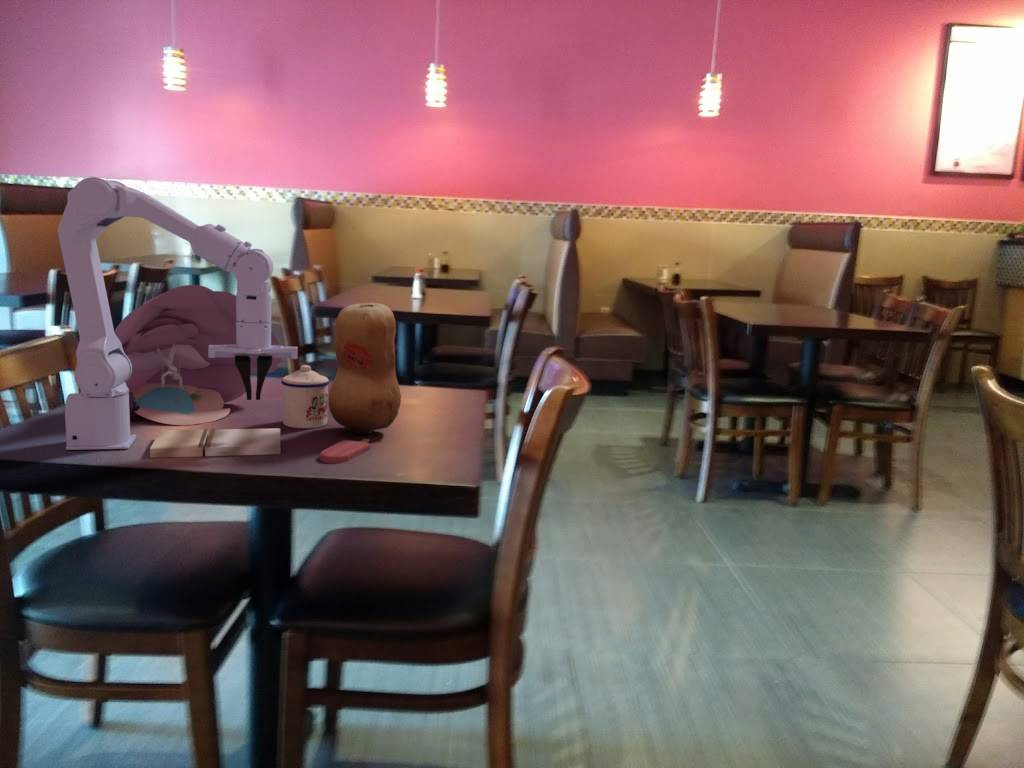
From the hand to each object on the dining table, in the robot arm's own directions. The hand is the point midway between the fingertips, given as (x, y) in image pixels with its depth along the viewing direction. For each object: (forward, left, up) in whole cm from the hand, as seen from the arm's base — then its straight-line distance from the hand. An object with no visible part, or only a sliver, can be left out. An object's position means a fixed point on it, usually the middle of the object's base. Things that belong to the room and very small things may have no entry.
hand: (253, 398), depth 136 cm
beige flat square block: (-1, 0, -8) cm, 9 cm away
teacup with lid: (+10, +17, -9) cm, 22 cm away
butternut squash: (+20, +8, -9) cm, 23 cm away
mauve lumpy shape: (-15, +25, -9) cm, 31 cm away
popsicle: (+16, -5, -9) cm, 19 cm away
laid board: (-12, 0, -8) cm, 15 cm away
